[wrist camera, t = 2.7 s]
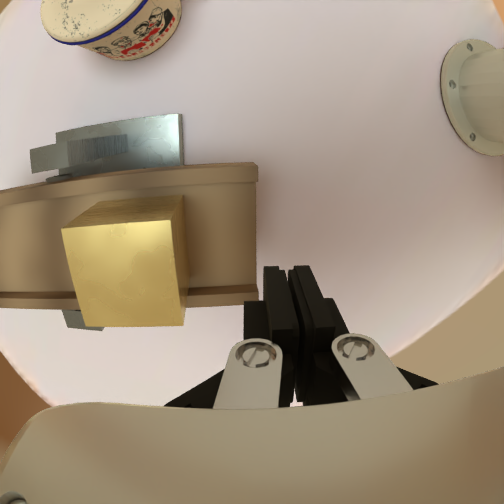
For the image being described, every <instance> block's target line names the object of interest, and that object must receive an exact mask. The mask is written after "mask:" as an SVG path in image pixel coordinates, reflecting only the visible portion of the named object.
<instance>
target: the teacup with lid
mask: <svg viewBox="0 0 504 504" xmlns="http://www.w3.org/2000/svg"><path fill="white" fill-rule="evenodd" d="M180 16H181V3H180V0H42V3H41V20H42V24H43V26H44V28H45V30H46V31H47V33H48V34H49V35H50V36H51V37H52V38H53V39H54V40H56V41H58V42H60V43H63V44H67V45H78V46H81V47H83V48H86V49H89V50H91V51H94V52H96V53H99V54H101V55H104V56H106V57H108V58H111V59H115V60H133V59H138V58H141V57H144V56H146V55H148V54H150V53H152V52H153V51H155V50H157V49H158V48H159V47H161V46H162V45H163V44H164V43H165V42H166V41H167V40H168V39H169V38H170V36H171V35H172V34H173V32H174V31H175V29H176V27H177V25H178V23H179V20H180Z"/></svg>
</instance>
